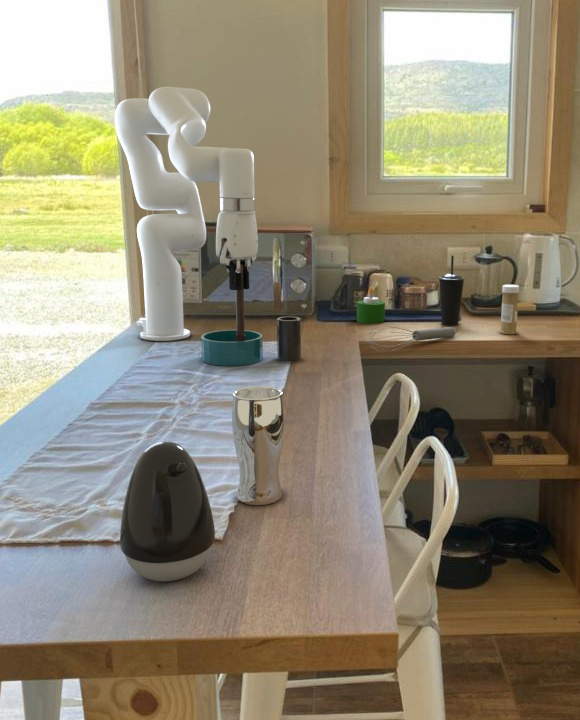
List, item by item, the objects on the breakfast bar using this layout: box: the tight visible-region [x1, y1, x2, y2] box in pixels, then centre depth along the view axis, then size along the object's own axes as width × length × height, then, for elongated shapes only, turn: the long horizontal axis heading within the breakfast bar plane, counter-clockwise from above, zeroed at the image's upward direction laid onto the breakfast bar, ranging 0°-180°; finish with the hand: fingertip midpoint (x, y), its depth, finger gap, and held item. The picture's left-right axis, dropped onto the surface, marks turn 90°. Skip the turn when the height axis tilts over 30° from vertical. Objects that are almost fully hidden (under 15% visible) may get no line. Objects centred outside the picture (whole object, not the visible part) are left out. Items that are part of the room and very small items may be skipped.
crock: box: [276, 316, 302, 363], centre depth 187 cm, size 5×6×10 cm
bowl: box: [200, 329, 264, 367], centre depth 186 cm, size 14×14×6 cm
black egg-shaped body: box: [119, 441, 216, 583], centre depth 89 cm, size 10×10×15 cm
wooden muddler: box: [235, 264, 246, 342], centre depth 182 cm, size 2×2×20 cm
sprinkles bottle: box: [499, 284, 520, 335], centre depth 223 cm, size 5×5×13 cm
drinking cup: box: [438, 254, 466, 326], centre depth 234 cm, size 8×8×20 cm
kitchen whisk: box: [366, 325, 459, 353], centre depth 207 cm, size 6×34×6 cm, turn 136°
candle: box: [356, 286, 386, 324], centre depth 237 cm, size 8×8×10 cm
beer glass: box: [231, 385, 285, 506], centre depth 110 cm, size 7×7×15 cm
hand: (239, 288), depth 181 cm, fingers closed on wooden muddler, 1 cm apart
